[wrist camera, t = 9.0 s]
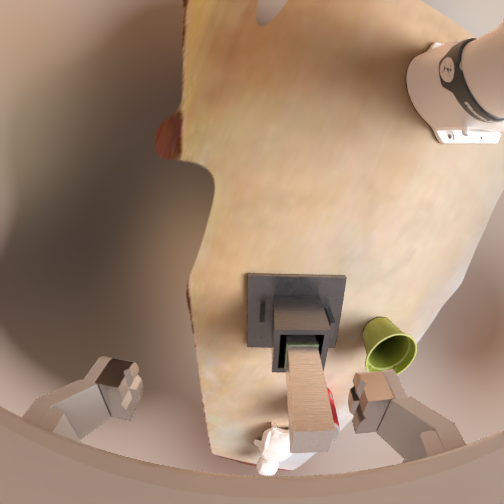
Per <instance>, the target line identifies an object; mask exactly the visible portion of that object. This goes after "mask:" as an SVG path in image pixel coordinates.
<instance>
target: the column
mask: <svg viewBox="0 0 504 504" xmlns="http://www.w3.org/2000/svg"><path fill="white" fill-rule="evenodd" d="M318 346H319V344H318V341H316V337H315V335H285V340H284V353H285V362H284V369H286V384H287V402H288V420H289V441H290V453H307V452H325V451H328V449H329V446H330V444H331V441H332V438H333V436H334V433H335V426H334V421H333V416H332V411H331V406H330V401H329V396H328V391H327V386H326V382H325V377H324V372H323V368H322V363H321V359H320V354H319V350H318Z"/></svg>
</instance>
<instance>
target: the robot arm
mask: <svg viewBox="0 0 504 504" xmlns="http://www.w3.org/2000/svg"><path fill="white" fill-rule="evenodd" d="M407 89H408V93H409V96H410V99H411V101H412V103H413V105H414V107H415V109H416V110H417V112H418V113H419V114H420V116H421V117H422V118H423V119H424V120H425V121H426V122H427V123H428V124H429V125H430V126H431V128H432V130H433V132H434V134H435V136H436V138H437V140H438V141H439V142H440V143H442V144H495V143H498V141H499V139H500V136H501V132H504V20H503V22H502V23H501V24H500V26H499V27H497V28H496V29H494V30H493V31H491V32H489V33H488V34H486V35H484V36H482V37H480V38H478V39H476V38H472V39H467V40H463V41H459V40H456V41H453V42H450V43H446V44H444V45H443V44H441V43H439V42H436V43H433V44H432V45H431V46H430V48H429V49H428V51H427V52H425V53H422V54H420V55H418V56H416V57H415V58H414V59H413V60H412V61H411V63H410V65H409V67H408V71H407ZM448 135H449V138H448ZM138 372H139V368H138V365H137V364H136V363H135V362H130V361H125V360H119V359H115V358H109V357H104V356H102V357H100V358H99V359H98V360H97V362H96V363H95V364H94V366H93V367H92V368H91V370H90V371H89V372H88V374H87V375H86V377H85V378H84V379H83V380H78V381H76V382H73V383H71V384H69V385H67V386H65V387H62V388H60V389H58V390H56V391H54V392H51V393H49V394H47V395H44V396H42V397H40V398H38V399H36V400H35V401H34V402H33V404H32V405H31V406H30V408H29V409H28V410H27V411H26V413H25V414H24V415H23V417H20V416H18V415H16V414H14V413H12V412H10V411H8V410H6V409H4V408H3V407H1V406H0V504H504V430H502V431H499V432H497V433H495V434H493V435H490V436H488V437H485V438H483V439H480V440H478V441H475V442H473V443H470V444H467V445H466V444H465V442H464V440H463V438H462V436H461V434H460V432H459V430H458V428H457V427H456V425H455V423H453V422H452V421H450V420H448V419H447V418H445V417H443V416H442V415H440V414H438V413H437V412H435V411H434V410H432V409H430V408H429V407H427V406H425V405H424V404H422V403H421V402H419V401H417V400H416V399H414V398H413V397H407V394H406V392H405V390H404V388H403V386H402V385H401V382H400V380H399V378H398V376H397V374H396V372H395V371H394V370H393V369H391V370H382V371H373V372H361V373H356V374H355V375H354V378H353V383H354V386H353V387H352V388H351V389H350V392H349V398H348V405H349V410H350V413H352V414H353V415H354V417H353V420H352V422H353V426H354V430H355V433H356V434H357V433H369V432H377V434H378V435H379V436H381V437H382V438H383V439H384V440H385V441H386V442H387V443H388V444H389V445H390V446H391V447H392V448H393V449H394V450H395V451H396V452H398V453H399V454H400V455H401V456H402V457H403V458H404V461H403V462H402V463H401V464H396V465H391V466H386V467H381V468H375V469H368V470H362V471H354V472H347V473H337V474H326V475H313V476H285V477H271V476H269V477H268V476H267V477H266V476H265V477H264V476H242V475H228V474H218V473H209V472H200V471H193V470H186V469H180V468H174V467H169V466H164V465H159V464H154V463H150V462H145V461H141V460H137V459H132V458H129V457H125V456H121V455H118V454H114V453H111V452H107V451H104V450H101V449H98V448H94V447H92V446H89V445H86V444H83V443H81V441H80V439H82V438H83V437H85V436H86V435H88V434H89V433H91V432H92V431H93V430H95V429H96V428H98V427H99V426H100V425H102V424H103V423H105V422H106V421H107V420H109V419H110V418H111V417H115V418H119V419H124V420H129V421H130V420H131V418H132V416H133V414H134V412H135V410H136V408H135V405H134V404H135V403H137V402H139V401H140V399H141V397H142V393H143V383H142V379H141V378H140V377H139V376H138V375H137V374H138Z"/></svg>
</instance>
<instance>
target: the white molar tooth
mask: <svg viewBox="0 0 504 504" xmlns="http://www.w3.org/2000/svg"><path fill="white" fill-rule="evenodd" d="M271 426H272V427H271V428H269V429H267V430H265V431H264V433H263V436H262V440H256V439H255V441H254V444H255V445H256V446H257V447H258V448H259V451H260V456H261V457H260V458H259V461H258V462H257V471H258V473H259V474H262V475H265V476H266V475H267V476H269V475H274V474H275V472H276V471H277V468H278V466H279V463H278V462H280V461H284V460H286V459H287V458H289V457H290V455H291V454H292V453H290V441H289V430H285V429H280V428H277V425H276V424H275V423H274V422H272V423H271Z"/></svg>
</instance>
